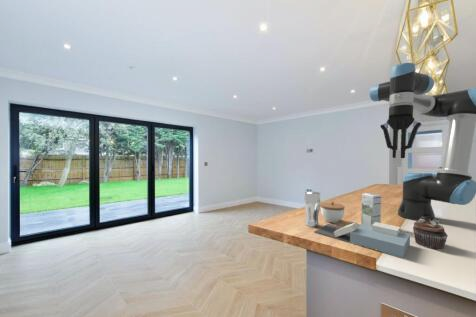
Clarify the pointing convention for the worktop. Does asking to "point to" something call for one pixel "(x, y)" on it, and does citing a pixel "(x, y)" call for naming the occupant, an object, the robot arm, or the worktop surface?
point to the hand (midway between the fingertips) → (398, 166)
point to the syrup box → (371, 209)
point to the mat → (329, 230)
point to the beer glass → (312, 208)
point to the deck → (381, 240)
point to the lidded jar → (332, 212)
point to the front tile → (346, 229)
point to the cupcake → (429, 233)
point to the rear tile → (386, 228)
